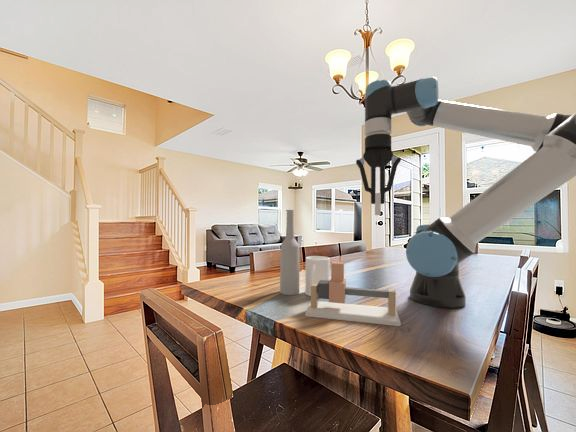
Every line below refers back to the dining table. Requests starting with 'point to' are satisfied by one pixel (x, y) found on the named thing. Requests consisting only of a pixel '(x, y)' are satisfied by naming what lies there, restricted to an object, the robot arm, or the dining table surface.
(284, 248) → the bottle
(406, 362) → the dining table surface
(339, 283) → the sleeve
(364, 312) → the rail fixture
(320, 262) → the mug
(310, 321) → the dining table surface
